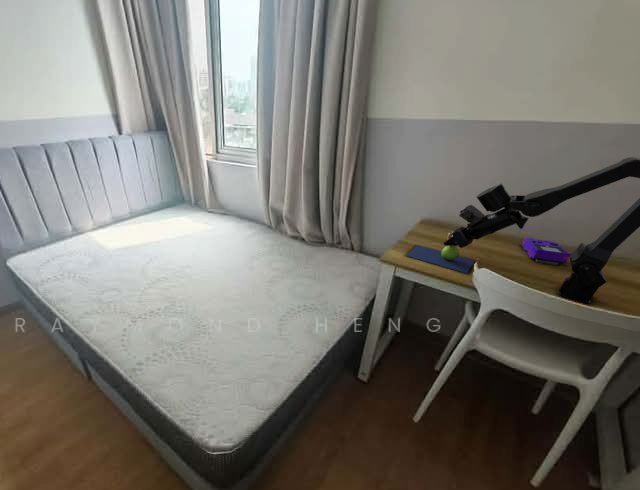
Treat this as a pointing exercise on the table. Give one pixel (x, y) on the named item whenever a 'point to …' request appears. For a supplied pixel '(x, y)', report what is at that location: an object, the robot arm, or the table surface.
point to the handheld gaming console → (545, 251)
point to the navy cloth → (441, 259)
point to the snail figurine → (450, 250)
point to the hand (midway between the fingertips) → (448, 242)
